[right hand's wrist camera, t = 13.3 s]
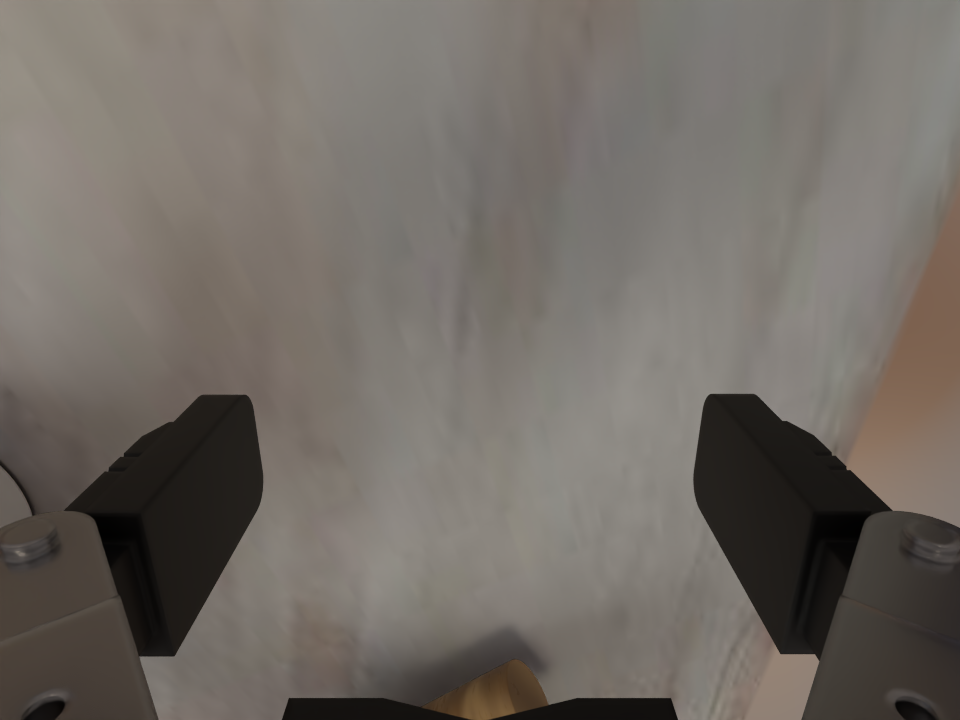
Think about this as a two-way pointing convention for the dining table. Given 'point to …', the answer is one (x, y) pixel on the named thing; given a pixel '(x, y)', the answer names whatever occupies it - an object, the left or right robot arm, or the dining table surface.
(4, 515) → the left robot arm
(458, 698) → the rod
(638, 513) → the dining table surface
